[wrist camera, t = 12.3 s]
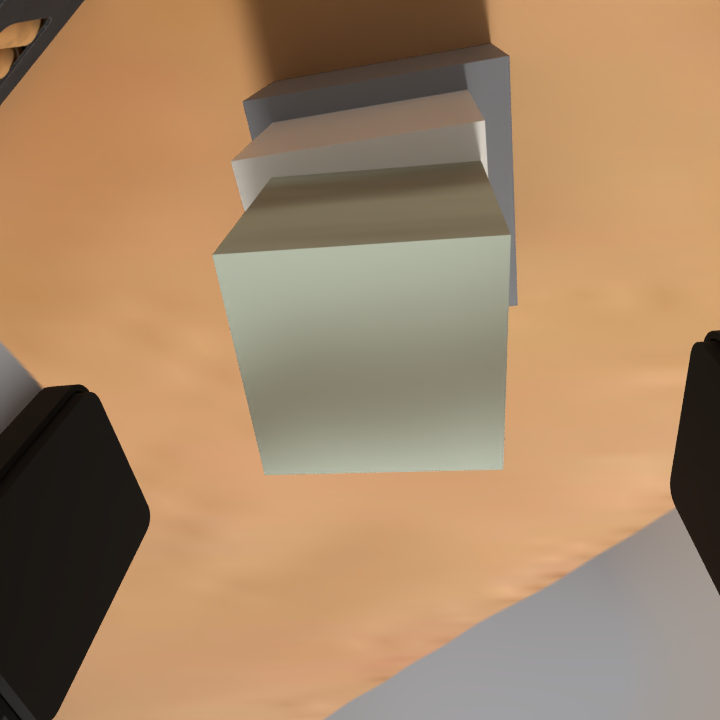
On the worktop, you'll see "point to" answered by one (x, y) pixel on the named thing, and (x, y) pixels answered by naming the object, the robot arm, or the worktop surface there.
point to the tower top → (365, 141)
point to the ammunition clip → (28, 35)
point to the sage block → (372, 319)
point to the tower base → (402, 82)
